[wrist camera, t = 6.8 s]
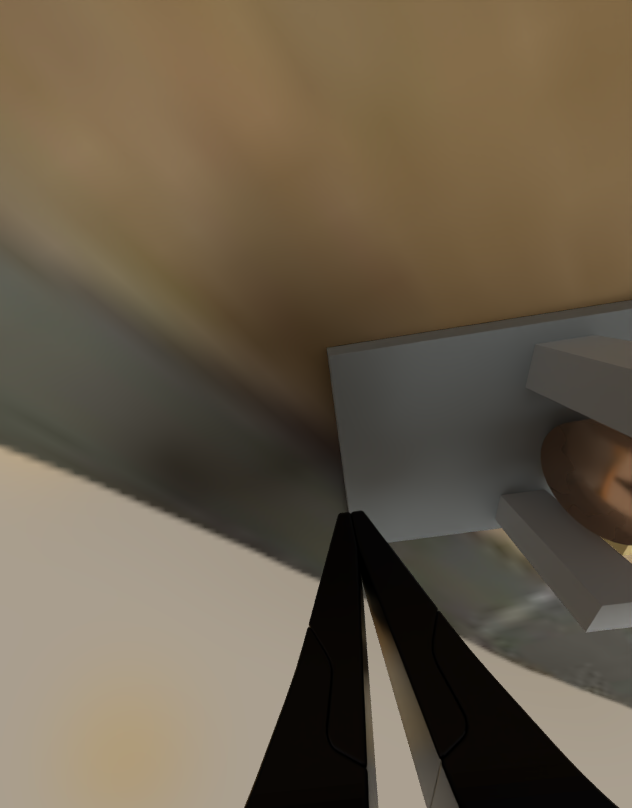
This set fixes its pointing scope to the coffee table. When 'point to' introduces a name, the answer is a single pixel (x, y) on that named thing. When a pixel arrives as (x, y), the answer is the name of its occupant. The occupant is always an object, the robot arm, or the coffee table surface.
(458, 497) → the board
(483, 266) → the coffee table surface
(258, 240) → the coffee table surface
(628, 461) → the copper tube
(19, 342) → the coffee table surface
